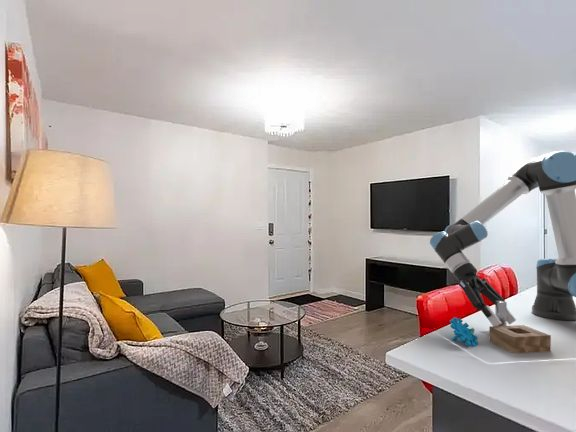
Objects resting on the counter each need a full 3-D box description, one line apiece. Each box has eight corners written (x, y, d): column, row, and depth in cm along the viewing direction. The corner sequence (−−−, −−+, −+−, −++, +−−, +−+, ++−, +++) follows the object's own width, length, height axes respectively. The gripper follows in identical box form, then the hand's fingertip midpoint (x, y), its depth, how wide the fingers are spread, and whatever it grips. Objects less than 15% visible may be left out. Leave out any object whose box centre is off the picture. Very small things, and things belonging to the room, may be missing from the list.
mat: (505, 331, 122) (505, 330, 122) (523, 339, 114) (523, 338, 114) (479, 332, 120) (479, 331, 120) (495, 340, 113) (495, 339, 113)
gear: (467, 346, 103) (447, 316, 110) (453, 355, 107) (434, 326, 113) (487, 343, 109) (466, 315, 116) (473, 353, 113) (454, 325, 119)
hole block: (523, 340, 113) (523, 325, 113) (550, 352, 103) (550, 335, 103) (489, 342, 111) (489, 326, 111) (513, 354, 101) (513, 337, 101)
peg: (501, 332, 119) (501, 300, 119) (508, 336, 116) (508, 302, 116) (493, 333, 119) (493, 300, 119) (500, 336, 115) (499, 303, 115)
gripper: (470, 273, 136) (513, 325, 122) (436, 275, 125) (479, 333, 111) (485, 261, 132) (530, 314, 118) (450, 262, 120) (496, 321, 107)
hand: (505, 323), depth 114 cm, fingers open, 8 cm apart
